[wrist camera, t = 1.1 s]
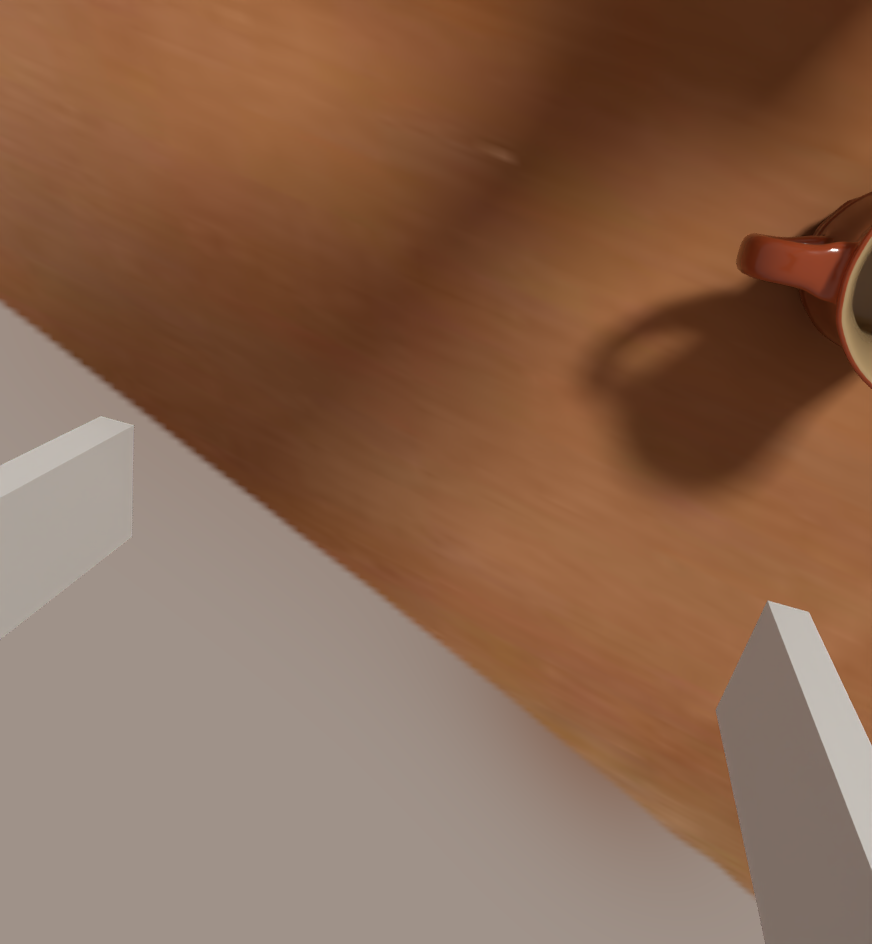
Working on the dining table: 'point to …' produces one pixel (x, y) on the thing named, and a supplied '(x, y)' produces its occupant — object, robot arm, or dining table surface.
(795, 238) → the mug
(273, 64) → the dining table surface
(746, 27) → the dining table surface
